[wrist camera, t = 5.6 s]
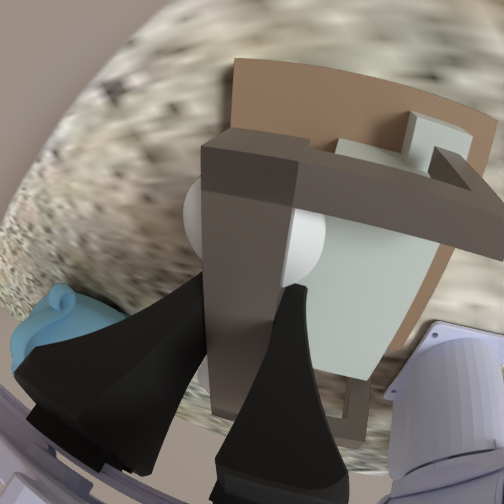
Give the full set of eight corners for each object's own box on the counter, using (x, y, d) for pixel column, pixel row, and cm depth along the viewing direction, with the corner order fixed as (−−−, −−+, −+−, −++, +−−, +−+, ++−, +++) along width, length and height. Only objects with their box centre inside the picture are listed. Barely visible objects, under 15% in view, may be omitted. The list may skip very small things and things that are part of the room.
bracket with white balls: (230, 334, 17) (195, 408, 13) (241, 105, 10) (167, 142, 6) (366, 367, 16) (357, 449, 12) (459, 154, 9) (520, 224, 5)
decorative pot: (209, 375, 29) (148, 493, 19) (133, 386, 38) (84, 463, 28) (90, 249, 25) (-19, 358, 14) (47, 299, 34) (-19, 371, 23)
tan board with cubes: (230, 294, 22) (191, 363, 17) (243, 58, 13) (175, 60, 8) (399, 337, 19) (396, 417, 14) (488, 115, 10) (554, 152, 6)
